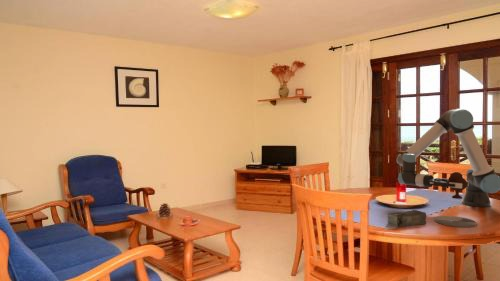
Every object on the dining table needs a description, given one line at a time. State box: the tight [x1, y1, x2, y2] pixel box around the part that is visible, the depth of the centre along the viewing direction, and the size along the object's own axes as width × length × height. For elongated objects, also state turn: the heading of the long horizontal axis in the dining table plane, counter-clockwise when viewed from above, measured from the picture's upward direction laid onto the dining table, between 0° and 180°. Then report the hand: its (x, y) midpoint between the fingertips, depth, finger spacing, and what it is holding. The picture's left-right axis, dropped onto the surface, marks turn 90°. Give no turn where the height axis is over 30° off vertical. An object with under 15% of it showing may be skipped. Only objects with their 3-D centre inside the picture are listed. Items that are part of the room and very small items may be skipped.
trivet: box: [433, 215, 478, 228], centre depth 195 cm, size 20×20×1 cm
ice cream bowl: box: [447, 171, 468, 200], centre depth 209 cm, size 11×11×15 cm
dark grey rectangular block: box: [387, 209, 427, 228], centre depth 192 cm, size 8×19×7 cm, turn 109°
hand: (465, 184), depth 206 cm, fingers closed on ice cream bowl, 11 cm apart
